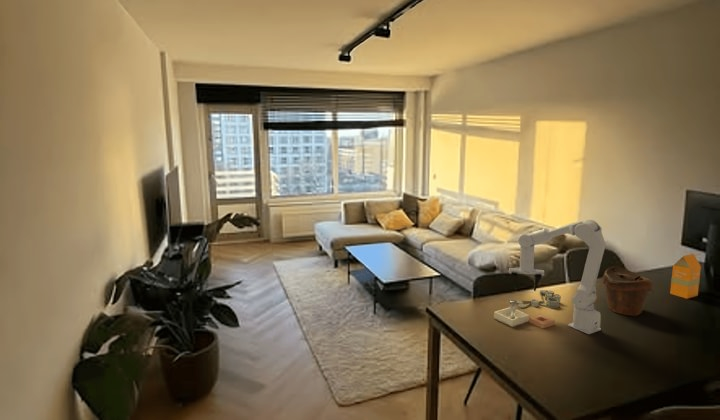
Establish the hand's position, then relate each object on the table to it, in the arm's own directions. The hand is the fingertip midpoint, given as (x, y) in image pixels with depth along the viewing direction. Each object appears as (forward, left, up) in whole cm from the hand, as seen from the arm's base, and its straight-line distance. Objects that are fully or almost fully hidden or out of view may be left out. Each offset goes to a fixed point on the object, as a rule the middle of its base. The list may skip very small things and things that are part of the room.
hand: (525, 289), depth 190 cm
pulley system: (+2, -14, -11) cm, 18 cm away
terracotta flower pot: (-23, -38, -10) cm, 46 cm away
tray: (-4, +13, -10) cm, 17 cm away
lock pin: (-4, +13, -9) cm, 16 cm away
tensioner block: (-13, +5, -10) cm, 17 cm away
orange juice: (-27, -80, -10) cm, 85 cm away
